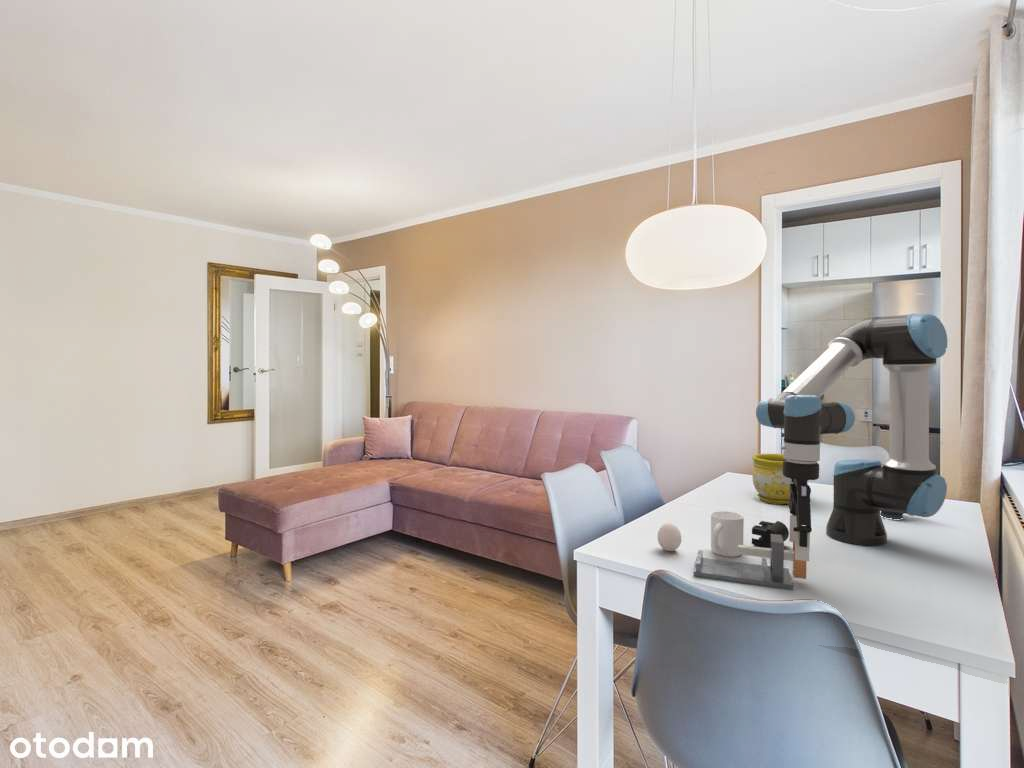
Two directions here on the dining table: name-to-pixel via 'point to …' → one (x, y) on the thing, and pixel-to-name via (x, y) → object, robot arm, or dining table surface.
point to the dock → (748, 569)
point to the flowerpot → (771, 479)
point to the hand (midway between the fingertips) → (798, 550)
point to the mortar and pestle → (891, 514)
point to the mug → (726, 533)
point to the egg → (669, 536)
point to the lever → (798, 565)
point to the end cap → (768, 533)
